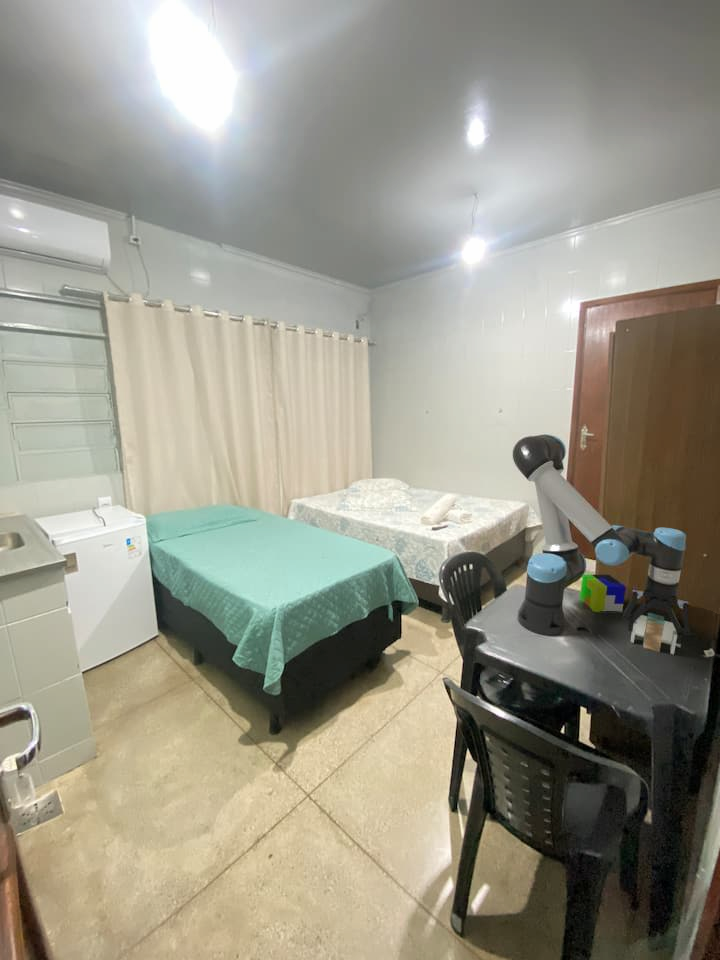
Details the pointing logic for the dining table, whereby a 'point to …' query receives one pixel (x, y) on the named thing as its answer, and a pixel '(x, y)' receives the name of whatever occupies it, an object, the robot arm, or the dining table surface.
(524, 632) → the dining table surface
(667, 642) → the mat
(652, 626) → the block
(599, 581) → the puzzle toy
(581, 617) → the dining table surface
